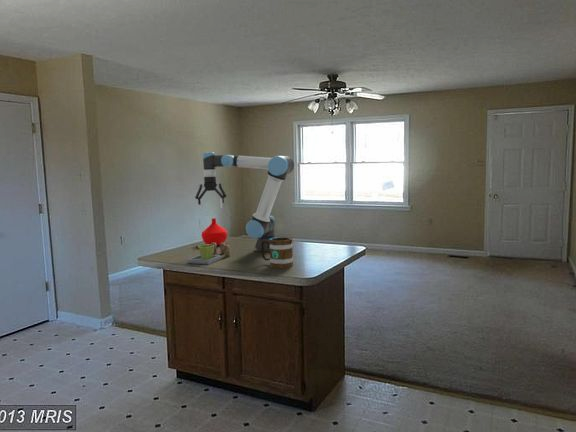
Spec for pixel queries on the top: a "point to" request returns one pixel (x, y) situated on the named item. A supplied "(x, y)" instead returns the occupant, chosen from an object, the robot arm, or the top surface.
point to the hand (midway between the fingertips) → (211, 209)
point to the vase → (214, 234)
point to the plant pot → (206, 251)
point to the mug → (279, 252)
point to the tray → (199, 261)
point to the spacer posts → (221, 249)
